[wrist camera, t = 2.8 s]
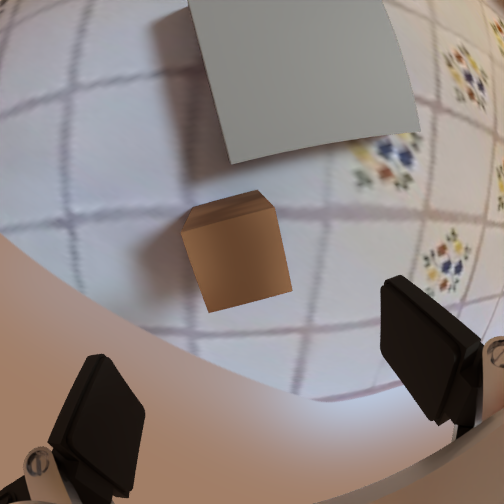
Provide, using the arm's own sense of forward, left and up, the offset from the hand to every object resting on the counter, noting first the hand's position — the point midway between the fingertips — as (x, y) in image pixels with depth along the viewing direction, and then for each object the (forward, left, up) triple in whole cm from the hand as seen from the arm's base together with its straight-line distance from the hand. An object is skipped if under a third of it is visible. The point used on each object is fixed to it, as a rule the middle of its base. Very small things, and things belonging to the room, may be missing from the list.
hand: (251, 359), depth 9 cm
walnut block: (0, 0, -14) cm, 14 cm away
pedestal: (-8, -12, -14) cm, 21 cm away
